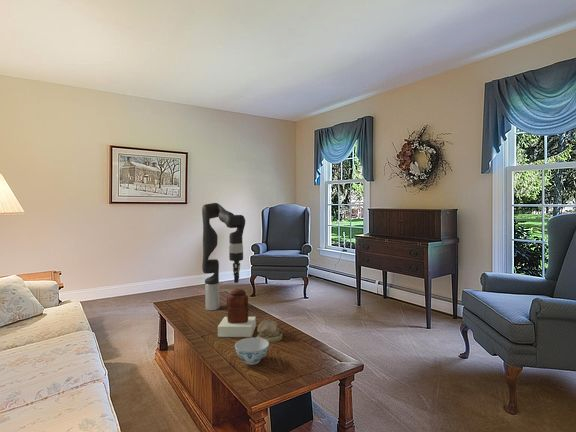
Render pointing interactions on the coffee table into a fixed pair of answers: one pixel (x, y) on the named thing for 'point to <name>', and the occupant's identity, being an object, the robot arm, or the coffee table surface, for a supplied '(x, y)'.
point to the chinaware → (252, 349)
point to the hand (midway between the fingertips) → (236, 280)
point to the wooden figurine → (237, 306)
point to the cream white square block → (237, 328)
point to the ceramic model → (269, 331)
